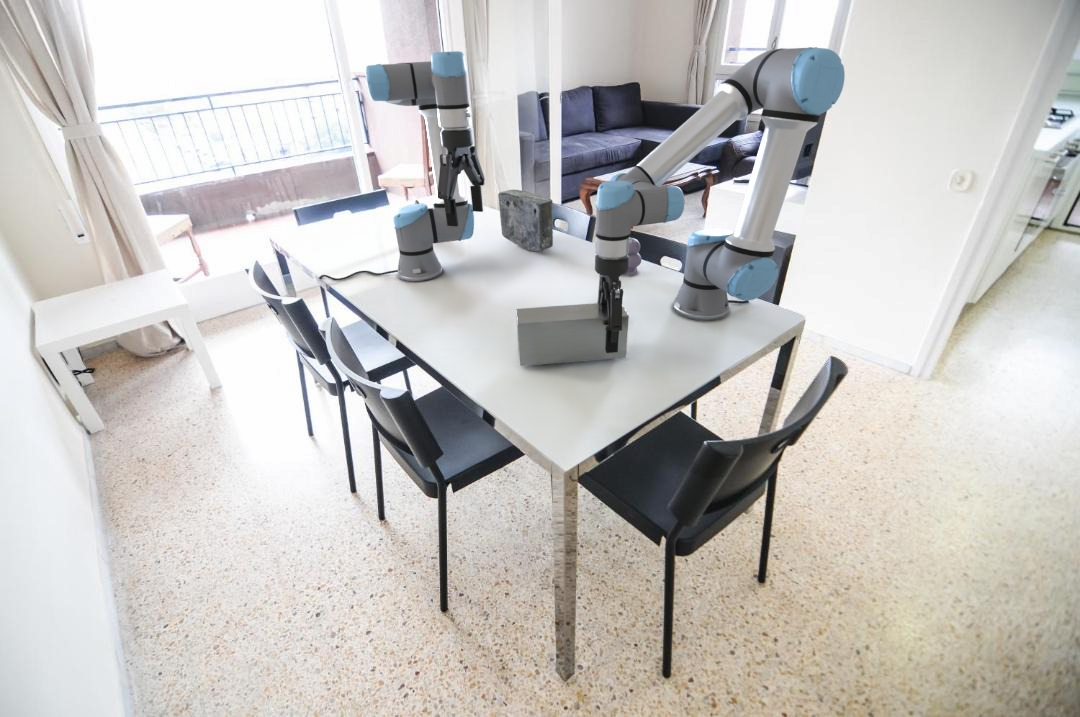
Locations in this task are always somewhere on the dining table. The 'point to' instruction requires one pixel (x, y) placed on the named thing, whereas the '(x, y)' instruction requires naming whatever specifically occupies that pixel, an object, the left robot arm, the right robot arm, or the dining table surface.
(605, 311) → the box
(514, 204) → the concrete block
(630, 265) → the cat figurine
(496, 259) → the dining table surface
